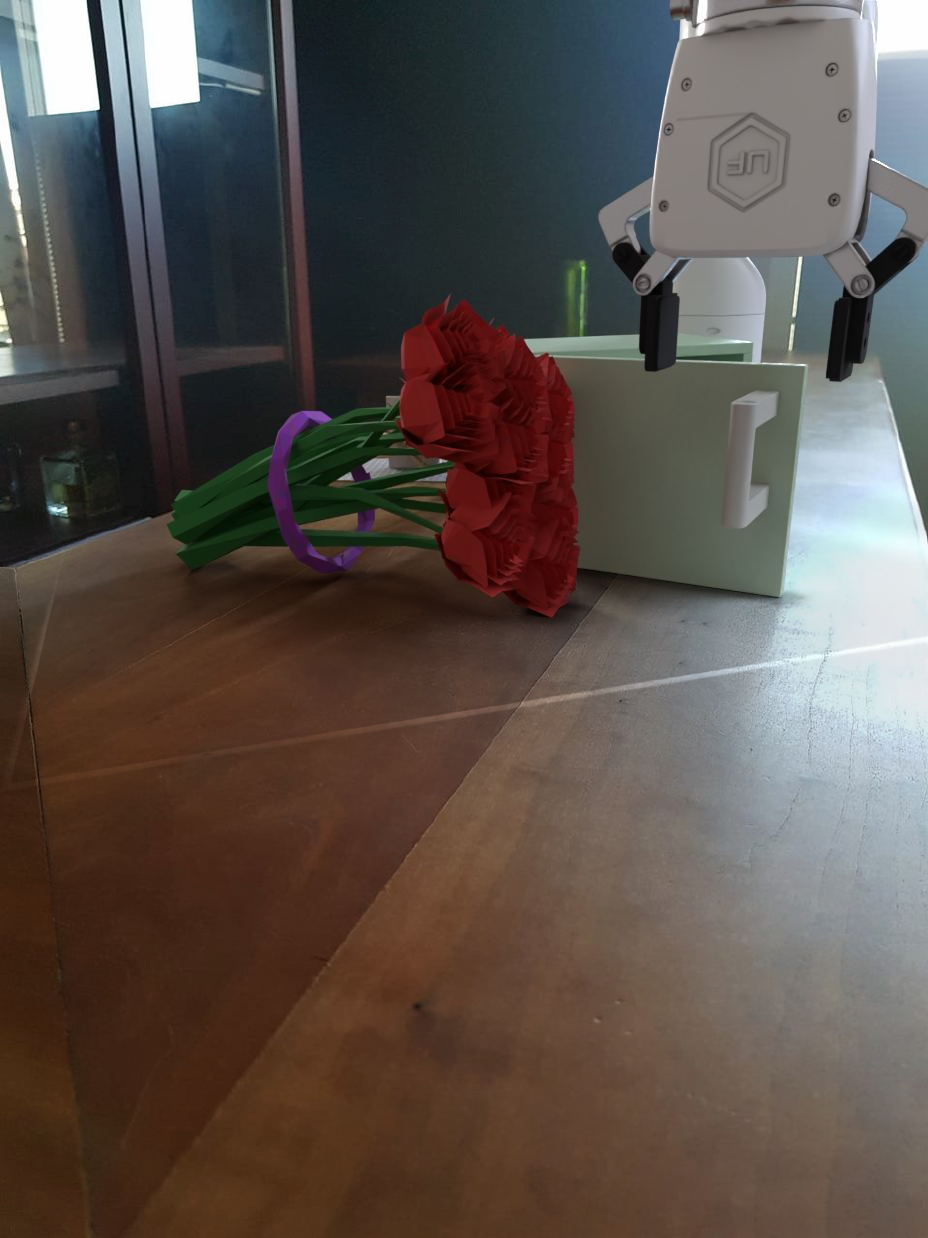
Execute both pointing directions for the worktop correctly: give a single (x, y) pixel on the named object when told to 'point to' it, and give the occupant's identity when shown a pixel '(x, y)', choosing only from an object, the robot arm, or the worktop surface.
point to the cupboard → (629, 347)
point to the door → (686, 468)
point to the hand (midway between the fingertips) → (745, 373)
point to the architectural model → (398, 459)
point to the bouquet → (420, 470)
